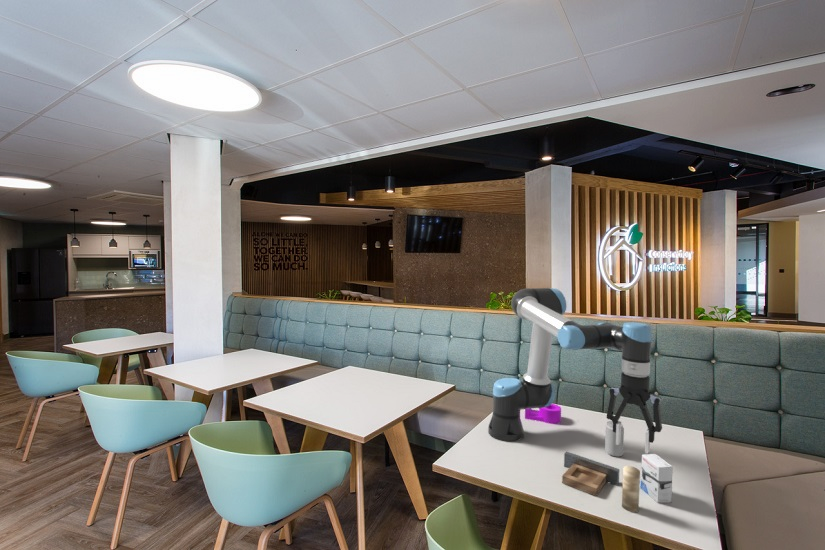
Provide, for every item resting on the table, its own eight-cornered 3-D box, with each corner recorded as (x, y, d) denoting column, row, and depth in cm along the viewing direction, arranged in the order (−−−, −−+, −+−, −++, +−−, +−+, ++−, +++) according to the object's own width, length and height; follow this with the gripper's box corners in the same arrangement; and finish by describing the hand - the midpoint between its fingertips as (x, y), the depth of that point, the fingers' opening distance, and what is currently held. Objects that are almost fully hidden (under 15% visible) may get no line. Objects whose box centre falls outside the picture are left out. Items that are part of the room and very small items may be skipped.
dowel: (620, 507, 121) (621, 470, 120) (623, 501, 124) (625, 464, 123) (636, 514, 118) (638, 475, 117) (639, 507, 121) (641, 469, 120)
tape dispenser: (561, 417, 189) (561, 405, 189) (560, 425, 180) (560, 412, 180) (527, 412, 195) (527, 400, 195) (524, 419, 186) (525, 406, 186)
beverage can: (625, 458, 151) (626, 428, 150) (607, 456, 152) (608, 426, 151) (620, 450, 157) (621, 421, 156) (602, 448, 158) (603, 419, 158)
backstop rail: (564, 466, 144) (564, 453, 144) (566, 464, 146) (566, 451, 145) (617, 485, 132) (617, 471, 132) (618, 483, 134) (619, 469, 134)
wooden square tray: (562, 482, 133) (562, 475, 133) (573, 469, 142) (573, 463, 141) (596, 496, 126) (596, 488, 126) (606, 481, 134) (606, 474, 134)
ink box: (639, 487, 132) (640, 453, 131) (653, 487, 132) (654, 453, 131) (657, 503, 123) (658, 467, 123) (672, 502, 123) (673, 466, 123)
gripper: (596, 369, 123) (593, 440, 124) (672, 384, 109) (669, 463, 110) (603, 365, 128) (600, 433, 129) (676, 378, 115) (673, 454, 116)
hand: (632, 447), depth 120 cm, fingers open, 7 cm apart
